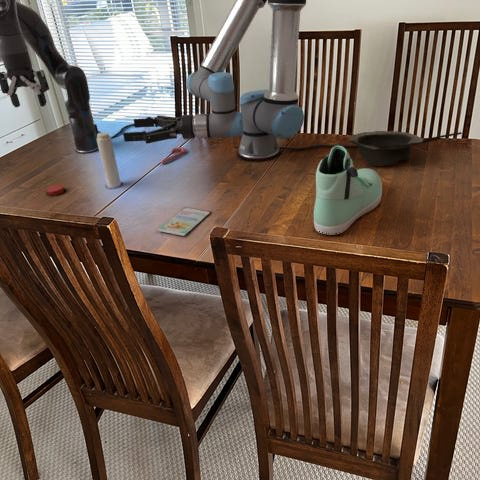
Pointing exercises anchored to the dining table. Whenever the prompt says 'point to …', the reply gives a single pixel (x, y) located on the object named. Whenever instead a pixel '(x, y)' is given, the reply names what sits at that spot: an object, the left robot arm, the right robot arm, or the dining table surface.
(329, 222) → the sneaker
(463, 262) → the dining table surface
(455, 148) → the dining table surface
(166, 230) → the baking ingredient package
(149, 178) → the dining table surface
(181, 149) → the candy cane
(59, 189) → the lid
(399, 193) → the dining table surface
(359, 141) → the stone bowl
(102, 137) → the jar
